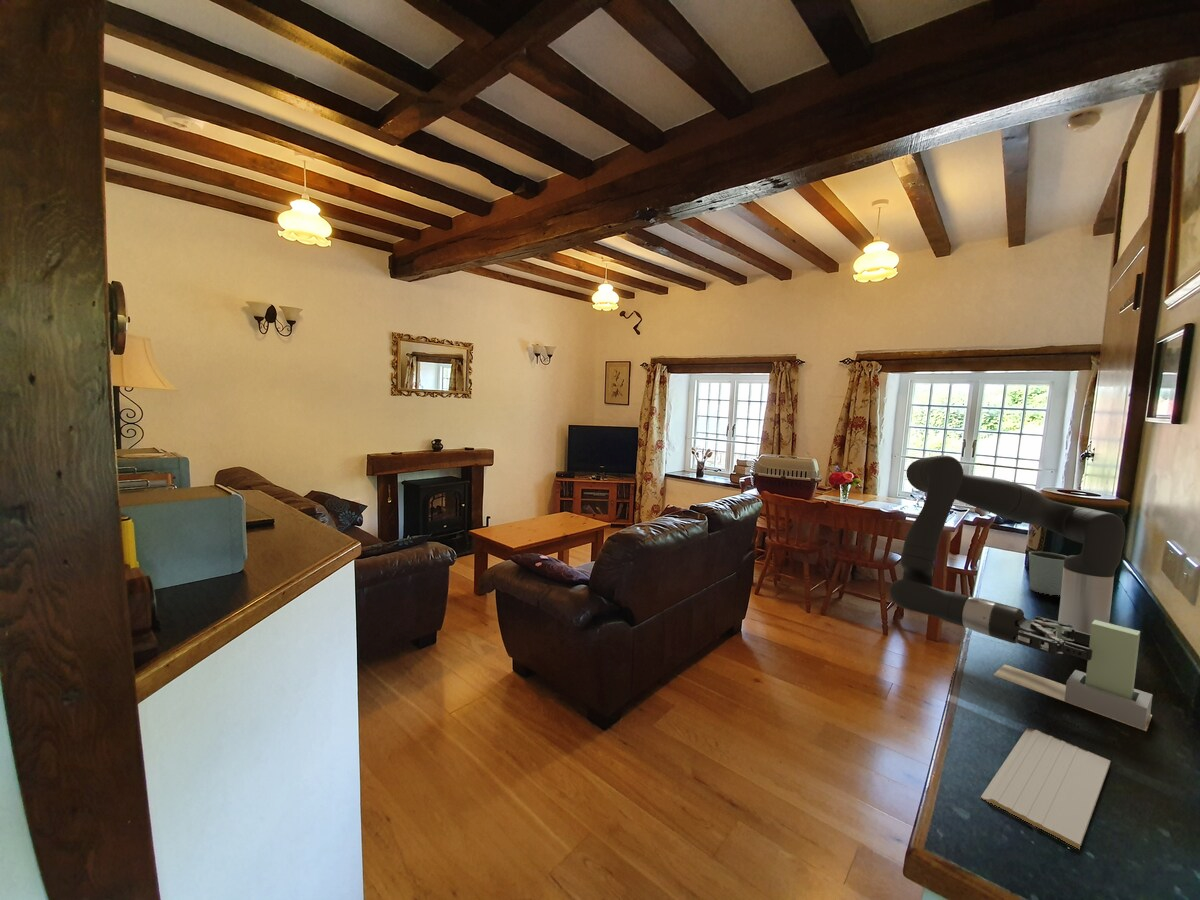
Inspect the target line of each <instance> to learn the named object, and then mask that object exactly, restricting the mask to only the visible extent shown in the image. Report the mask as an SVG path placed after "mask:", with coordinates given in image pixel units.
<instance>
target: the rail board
mask: <svg viewBox="0 0 1200 900" xmlns="http://www.w3.org/2000/svg"><path fill="white" fill-rule="evenodd" d="M992 676H994V677H996V678H999V679H1002V680H1005V681H1007V682H1011V683H1013V684H1016V685H1018V686H1021V687H1024V688H1027V689H1029V690H1032V691H1034V692H1038V693H1040V694H1043V695H1046V696H1049V697H1051V698H1054V699H1056V700H1059V701H1063V702H1065V703H1067V704H1070V705H1073V706H1076V707H1079V708H1081V709H1085V710H1087V711H1090V712H1092V713H1095V714H1098V715H1101V716H1103V717H1106V718H1109V719H1112V720H1113V721H1117V722H1120V723H1123V724H1125V725H1128V726H1131V727H1134V728H1136V729H1139V730H1142V731H1145V732H1147V731H1148V728H1149V725H1150V722H1151V719H1152V717H1153V714H1151V713H1150V717H1149V719H1148V722H1147V724H1146V727H1145V730H1144V729H1141V728H1138V727H1136V726H1133V725H1130V724H1127V723H1125V722H1122V721H1119V720H1116V719H1114V718H1111V717H1108V716H1105V715H1103V714H1100V713H1097V712H1094V711H1092V710H1089V709H1086V708H1083V707H1081V706H1078V705H1075V704H1072V703H1070V702H1067V701H1065V692H1066V684H1063V683H1060V682H1058V681H1055V680H1053V679H1048V678H1045V677H1043V676H1040V675H1037V674H1034V673H1031V672H1029V671H1025V670H1022V669H1020V668H1016V667H1014V666H1011V665H1008V664H1005V663H1004V664H1003V665H1002V666H1001V667H1000V668H999V669H998V670H997V671H996V672H994V673H993V675H992Z"/></svg>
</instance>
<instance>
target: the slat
mask: <svg viewBox="0 0 1200 900" xmlns="http://www.w3.org/2000/svg"><path fill="white" fill-rule="evenodd" d="M1140 637H1141V631H1140V630H1136V629H1133V628H1129V627H1125V626H1121V625H1117V624H1113V623H1111V622H1109V623H1106V622H1102V621H1098V620H1094V621H1093V622H1092V624H1091V634H1090V643H1089V646H1088V648H1090V649H1092V658H1091V660H1087V662H1086V663H1087V665H1086V672H1085V673H1086V681H1085V685H1088V686H1091V687H1094V688H1097V689H1100V690H1103V691H1106V692H1109V693H1112V694H1115V695H1118V696H1121V697H1124V698H1127V699H1130V700H1133V691H1134V689H1135V682H1136V681H1135V679H1136V671H1137V664H1138V655H1139V647H1140V646H1139V645H1140Z"/></svg>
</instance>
